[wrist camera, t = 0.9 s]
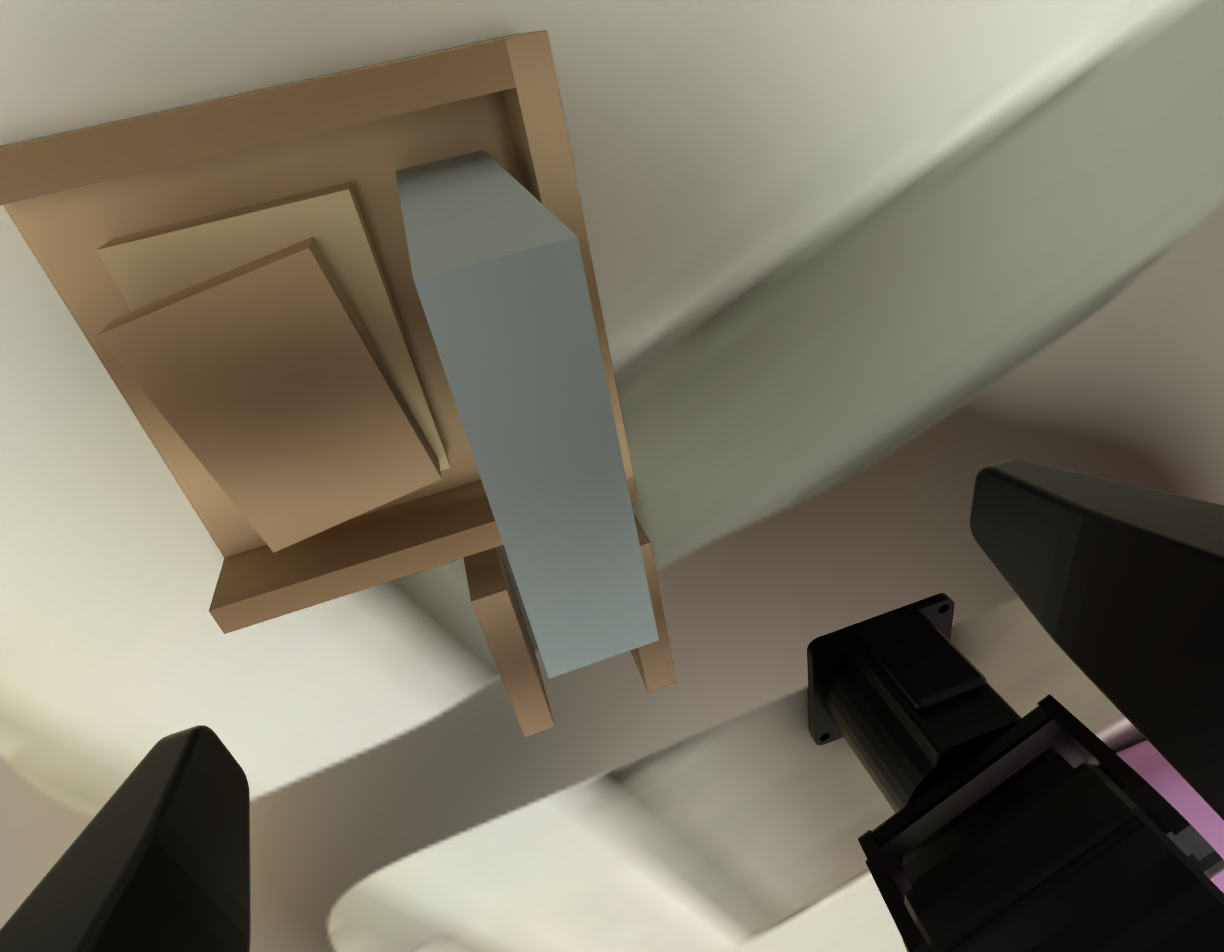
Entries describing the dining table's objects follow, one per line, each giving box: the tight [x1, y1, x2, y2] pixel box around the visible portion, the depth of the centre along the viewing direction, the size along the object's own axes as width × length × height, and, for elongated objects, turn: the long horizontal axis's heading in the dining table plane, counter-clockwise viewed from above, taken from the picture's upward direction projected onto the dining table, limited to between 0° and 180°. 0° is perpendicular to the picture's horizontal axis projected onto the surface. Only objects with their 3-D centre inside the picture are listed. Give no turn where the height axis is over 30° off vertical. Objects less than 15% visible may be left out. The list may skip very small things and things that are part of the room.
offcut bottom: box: [96, 182, 450, 471], centre depth 17 cm, size 7×5×1 cm
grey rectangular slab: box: [395, 150, 659, 679], centre depth 14 cm, size 7×2×9 cm, turn 11°
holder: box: [464, 515, 677, 737], centre depth 23 cm, size 6×5×3 cm
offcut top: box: [98, 237, 442, 552], centre depth 16 cm, size 6×4×1 cm
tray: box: [0, 30, 639, 634], centre depth 17 cm, size 11×11×3 cm
